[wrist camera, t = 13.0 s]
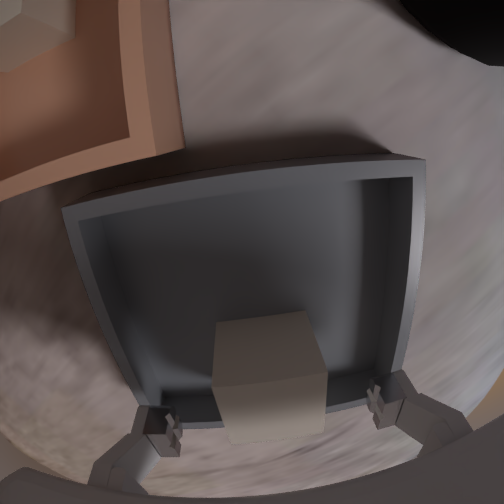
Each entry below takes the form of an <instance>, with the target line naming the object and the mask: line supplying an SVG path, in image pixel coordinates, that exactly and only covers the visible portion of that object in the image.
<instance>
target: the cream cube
mask: <svg viewBox="0 0 504 504" xmlns="http://www.w3.org/2000/svg"><path fill="white" fill-rule="evenodd" d="M75 17H76V0H0V72H7V73H8V72H10V71H11V70H13V69H15V68H16V67H18V66H20V65H22V64H23V63H25V62H27V61H29V60H31V59H32V58H34V57H36V56H38V55H40V54H42V53H44V52H46V51H48V50H50V49H52V48H54V47H56V46H58V45H60V44H62V43H65V42H67V41H69V40H71V39H74V38H75Z"/></svg>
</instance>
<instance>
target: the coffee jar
mask: <svg viewBox="0 0 504 504" xmlns="http://www.w3.org/2000/svg"><path fill="white" fill-rule="evenodd" d="M400 2H401V3H402V4H403V6H404V7H405V8H406V9H407V10H408V11H409V12H410V13H411V14H412V15H413V16H414V17H415V18H416V19H417V20H418V21H419V22H420V23H421V24H422V25H423V26H424V27H425V28H426V29H427V30H428V31H430V32H431V33H432V34H434V35H435V36H437V37H438V38H439V39H441V40H442V41H444V42H445V43H446V44H448V45H449V46H450V47H452V48H454V49H456V50H458V51H459V52H460V53H462V54H464V55H467V56H469V57H471V58H473V59H475V60H477V61H479V62H482V63H484V64H486V65H489V66H504V0H400Z"/></svg>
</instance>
